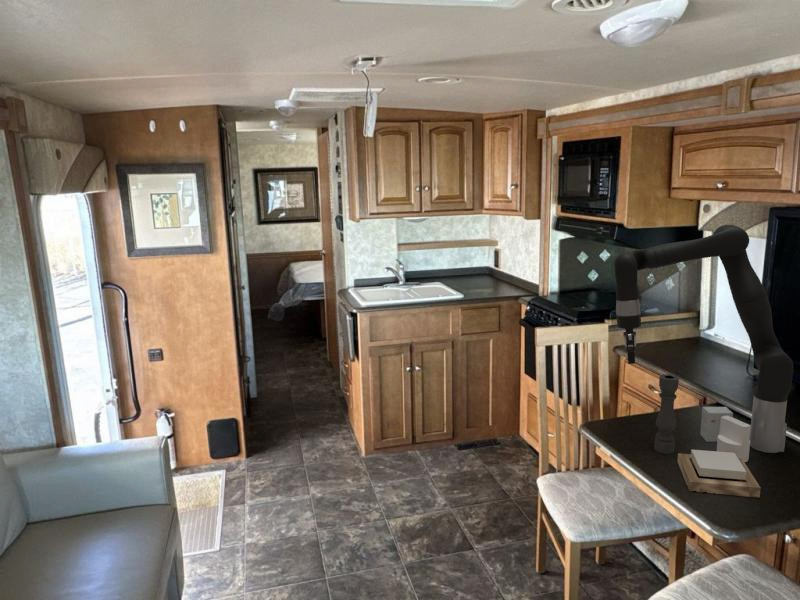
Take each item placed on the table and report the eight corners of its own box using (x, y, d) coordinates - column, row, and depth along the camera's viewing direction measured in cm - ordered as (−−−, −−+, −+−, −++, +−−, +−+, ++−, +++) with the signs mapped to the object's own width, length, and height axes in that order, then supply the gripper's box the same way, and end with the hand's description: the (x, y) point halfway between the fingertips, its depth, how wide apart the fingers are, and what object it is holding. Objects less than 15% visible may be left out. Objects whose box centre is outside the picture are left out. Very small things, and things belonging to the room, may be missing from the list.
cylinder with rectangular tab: (709, 452, 196) (712, 418, 194) (731, 448, 199) (734, 413, 196) (733, 465, 188) (736, 428, 185) (755, 460, 191) (758, 424, 188)
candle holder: (650, 446, 202) (654, 374, 197) (668, 444, 202) (673, 373, 197) (660, 454, 196) (665, 380, 191) (678, 453, 196) (683, 379, 191)
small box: (724, 435, 208) (726, 406, 206) (731, 442, 203) (733, 412, 201) (699, 435, 209) (702, 406, 207) (706, 442, 204) (708, 412, 202)
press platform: (733, 460, 183) (734, 452, 183) (745, 479, 172) (746, 471, 171) (690, 457, 186) (691, 449, 186) (699, 475, 175) (700, 467, 174)
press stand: (740, 467, 186) (741, 458, 185) (759, 497, 169) (760, 487, 168) (677, 462, 190) (678, 453, 190) (689, 491, 173) (690, 481, 173)
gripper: (641, 316, 194) (644, 365, 196) (639, 308, 207) (642, 355, 209) (616, 317, 196) (619, 366, 198) (616, 310, 210) (619, 355, 212)
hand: (631, 360), depth 204 cm, fingers open, 8 cm apart
